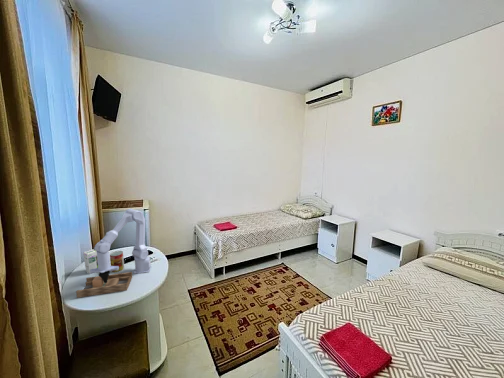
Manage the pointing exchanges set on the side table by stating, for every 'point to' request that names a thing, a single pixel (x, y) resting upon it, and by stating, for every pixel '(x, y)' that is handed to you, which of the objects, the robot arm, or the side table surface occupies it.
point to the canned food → (117, 260)
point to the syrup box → (90, 260)
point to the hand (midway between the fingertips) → (105, 282)
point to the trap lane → (107, 285)
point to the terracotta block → (97, 282)
